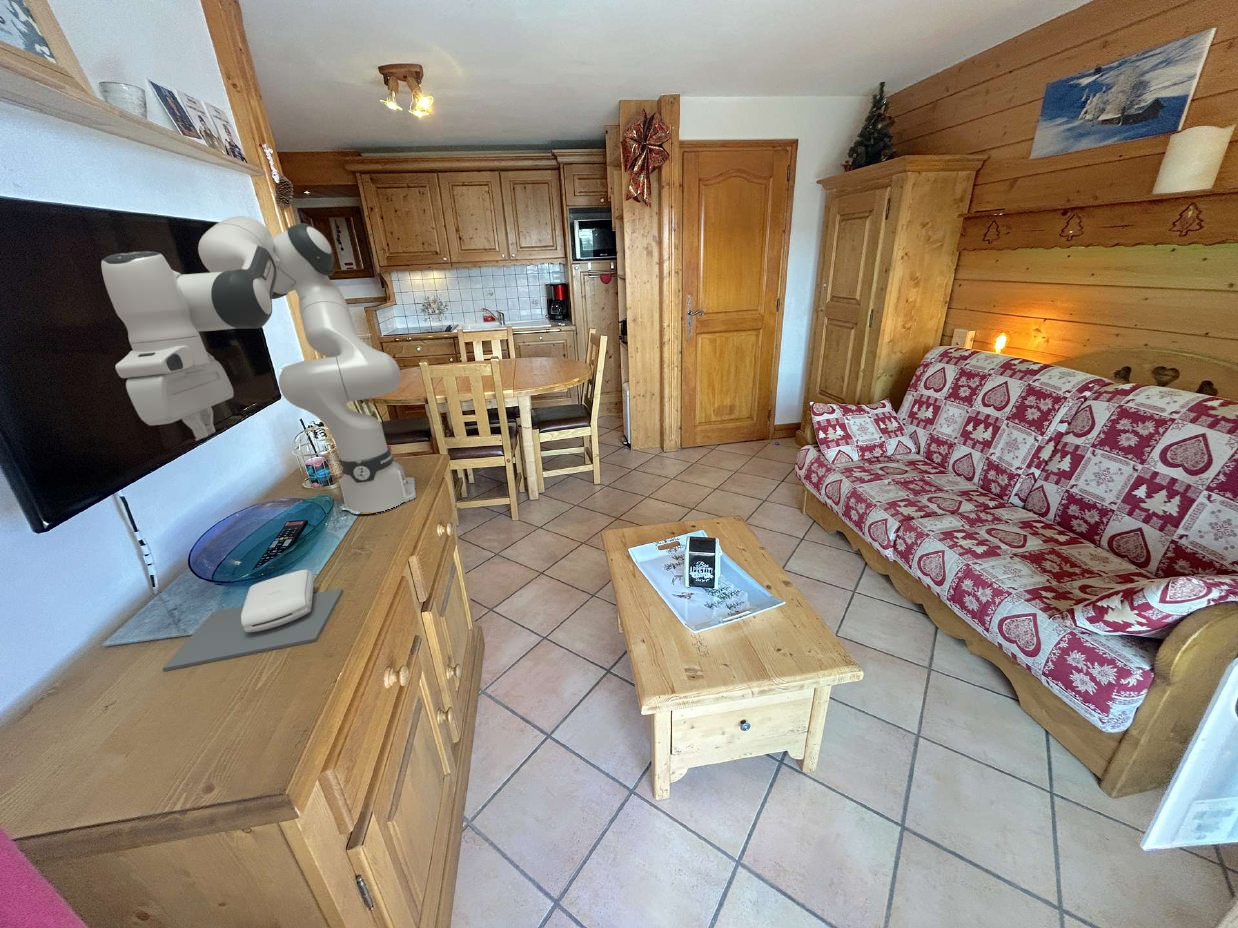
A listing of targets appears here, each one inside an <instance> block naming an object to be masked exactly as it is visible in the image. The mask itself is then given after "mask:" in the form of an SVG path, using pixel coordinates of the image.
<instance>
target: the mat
mask: <svg viewBox="0 0 1238 928" xmlns="http://www.w3.org/2000/svg"><path fill="white" fill-rule="evenodd" d="M343 592H344V589H343V588H338V589H333V590H327V591H323V592H315V593H313V596H312V606H311V611H310V612H309V613H307V614H306V615H304V616H302V617H300V618H298V619H296V620H293V621H291V622H288V623H286V624H283V625H280V626H277V627H274V628H270V629H266V630H262V631H257V632H246V631H245V630H244V627H243V626H242V623H241V613H242V610H243V607H244V606H240V607H234V608H229V609H228V608H227V609H222V610H218V611H212V613H210V615H209V616H208V617H207V618H206V619H205V620H204V621H203V623H202V624H201V625H199V627H198V628H196V630H195V631H194V632H193V634H192V635H191V636H190V637H189V638H188V639H187V640H186V642H184V644H183V645H182V646H181V647H180V648H179V649H178V650H177V651H176V652H175V654H173V656H172V657H171V658H170V659H169V660H168V661H167V662H166V664H165V665H163V667H162V671H163V672H168V671H173V670H179V669H184V668H188V667H192V666H198V665H203V664H208V663H213V662H218V661H224V660H229V659H233V658H238V657H243V656H248V655H254V654H258V653H264V652H268V651H270V652H271V651H275V650H279V649H284V648H288V647H289V648H290V647H295V646H299V645H304V644H309V643H315V642H318V639H319V637H320V635H321V633H322V632H323V630H324V629H325V627H326V624H328V620H329V619H330V617H331V615H332V613H333V611H334V609H335V608H336V606H337V604H338V602H339V600H340V598H341V596H342V594H343Z"/></svg>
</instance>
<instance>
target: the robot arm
mask: <svg viewBox="0 0 1238 928" xmlns="http://www.w3.org/2000/svg"><path fill="white" fill-rule="evenodd" d="M197 250H198V251H197V252H198V255H199V258H200V259H201V262H202V264H203V265H204V267H205V268H206V269H207V271H208V272H200V273H199V272H198V273H190V274H189V273H188V274H185V273H184V274H183V273H182V274H181V273H180V272H178V271H175V270H174V269H172V268H171V266H170V264H169V263H168V261H167V260H166V258H165V256H164V255H163V254H162V253H160V252H156V251H151V250H150V251H149V250H145V251H144V250H142V251H130V252H122V253H121V252H120V253H114V254H110V255H108V256H106V257H104V258H103V259H101V263H100V264H101V267H100V268H101V272H102V277H103V282H104V285H105V288H106V290H107V291H106V292H107V294H108V297H109V298H110V301H111V303H112V306H113V309H114V310H115V313H116V315H117V316H118V318H120V320H121V321H122V322H123V323H124V325H125V328H126V330H127V333H128V336H127V337H128V341H129V345H130V346H131V349H132V350H131V351H129V352H128V354H127V355H126V356H124V358H122V359H121V360H120V361H118V362H117V363H116V364H115V367H114V368H115V370H116V373H117V374H118V376H119V377H120V378H121V379H127V380H126V381H125V388H126V391H127V394H128V396H129V398H130V400H131V401H130V402H131V403H132V406H133V407H134V410H135V411H136V413H137V415H138V416H139V418H140V419H141V421H143V422H144V423H145V424H147V425H148V426H157V425H158V426H159V425H168V424H173V423H174V422H177V421H180V420H182V422H183V423H184V424H185V425H186V426H187V427H188V428H190V429H191V431H192V433H193V435H194V437H195V438H196V439H203V438H207V437H209V436H211V435H212V434H214V433H216V429H215V426H214V411H213V408H212V406H215V405H219V404H220V403H223V402H225V401H228V400H230V399H232V398H234V394H235V393H234V388H233V386H232V383H231V381H230V379H229V377H228V375H227V372H226V370H225V369H224V367H223V365H222V364H221V363H220V362H219V361H218V360H216V359H215V357H214V356H213V355H211V354H210V353H209V352H208V351H207V350H206V347H205V345H204V343H203V340H202V336H201V335H200V333H199V332H210V331H211V332H213V331H221V330H234V329H241V330H242V329H244V330H245V329H260V328H263V327H264V326H265V325H266V324H267V322H268V321H269V320H270V318H271V316H272V313H273V301H272V300H276V299H280V298H282V297H285V296H287V295H288V294H289V293H290V292H293V291H295V292H296V294H297V295H298V309H299V314H300V318H301V322H302V327H303V331H304V336H305V339H306V342H307V344H308V345H309V346H310V347H311V348H312V350H314V351H315V352H317V353H318V354H320V355H322V356H324V357H322V358H315V359H314V358H313V359H312V358H311V359H305V360H303V361H299V362H295V363H293V364H289V365H286V366H284V368H283V369H282V370H281V371H280V374H279V377H278V387H279V390H280V392H281V394H282V396H283V398H285V400H286V401H287V402H289V403H290V404H291V405H293V406H295V407H297V408H300V409H303V410H304V411H307V412H309V413H311V414H312V415H314V416H315V417H316V418H317V419H319V420H320V421H321V422H322V423H323V424H324V425H325V427H326V428H327V429H328V430H329V432H330V435H331V436H332V438H333V441H334V443H335V446H336V450H337V451H338V455H339V457H340V458H339V467H340V469H341V471H342V474H343V476H342V477H341V478H340V479H339V484H340V488H341V489H340V490H341V492H342V496H343V500H344V502H345V506H346V507H348V508H349V509H352V510H353V511H358V512H379V511H384V512H386V511H385V510H387V509H390V510H392V509H391V508H393V507H395V508H397V507H399V506H401V505H402V504H401V503H403V502H405V503H407V502H410V501H412V500H414V498H415V499H416V498H417V493H416V492H417V490H415V488H416V480H415V478H414V477H410V476H407V477H406V475H405V471H404V469H403V468H404V467H403V466H402V465H401V464H399V463H398V462H396V461H394V456H393V453H392V446H391V444H387V442H386V436H385V433H384V430H383V427H382V426H383V425H382V424H381V422H380V421H379V420H378V419H377V418H376V417H375V416H373V415H369V414H367V413H363V412H358V411H355V410H352V409H350V408H349V407H348V405H347V404H348V403H350V402H354V401H355V402H356V401H362V400H368V399H373V398H378V397H381V396H384V395H387V394H390V393H392V392H395V391H396V390H397V389H398V388H399V386H400V383H401V378H402V377H401V370H400V369H401V368H400V367H399V365H398V363H397V361H396V360H395V359H394V358H393V357H392V355H389V354H388V353H386V352H383V351H380V350H377V349H375V348H373V347H371V346H370V345H368V344H367V343H366V342H365V341H363V340H362V338H361V337H360V336H359V335H358V332H357V330H356V328H355V323H354V321H353V317H352V315H351V312H350V307H349V306H348V303H347V301H346V299H345V296H344V295H343V293H342V291H341V290H340V288H339V286H338V285H337V284H336V283H334V282H333V281H332V280H331V279H330V278H329V277H331V276H333V274H334V273H335V266H334V262H335V258H334V257H335V256H334V251H333V250H334V249H333V247H332V245H331V244H330V242H329V240H328V239H327V238H326V236H325V235H324V234H323V233H322V232H320V230H318V229H317V228H316V227H314V226H312V225H310V224H308V223H306V222H303V223H297V224H294V225H292V226H291V225H290V226H289V227H288V228H287V230H285V231H284V230H283V232H280V233H279V234H277V235H275V236H273V235H272V233H271V231H270V230H269V229H268V228H267V227H266V226H265V225H264V224H263V223H261V222H260V221H258V219H255V218H252V217H250V216H245V215H244V216H243V215H237V216H231V217H229V218H225V219H223V220H221V221H220V222H217V223H215V224H214V225H213V226H212V227H210V228H209V229H208V230H207V231H205V233H204V234H202V236H201V238H200V240H199V242H198V247H197ZM406 478H407V479H406ZM414 480H415V481H414ZM409 500H410V501H409ZM344 502H343V503H344ZM400 504H401V505H400ZM403 504H404V503H403ZM398 505H399V506H398ZM396 506H397V507H396ZM393 509H394V508H393ZM387 511H388V510H387Z"/></svg>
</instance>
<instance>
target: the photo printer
mask: <svg viewBox="0 0 1238 928" xmlns="http://www.w3.org/2000/svg"><path fill="white" fill-rule="evenodd" d="M314 585H315V575H314V573H313V572H312V571H311V570H309V569H301V570H296V571H294V572H293V571H292V572H289V573H285V574H283V575H278V576H276V577H273V578H270V579H266V580H263V581H260V582H257V583H254V584H253V585H250V587H249V589H248V592H247V595H246V598H245V601H244V604H243V606H242V607H243V610H242V613H241V623H242V626H243V627H244V630H245V631H246V632H257V631H262V630H266V629H270V628H274V627H277V626H280V625H283V624H286V623H288V622H291V621H293V620H296V619H298V618H300V617H302V616H304V615H306V614H307V613H309V612H310V611H311V606H312V596H313V594H314V587H315V586H314Z"/></svg>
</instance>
